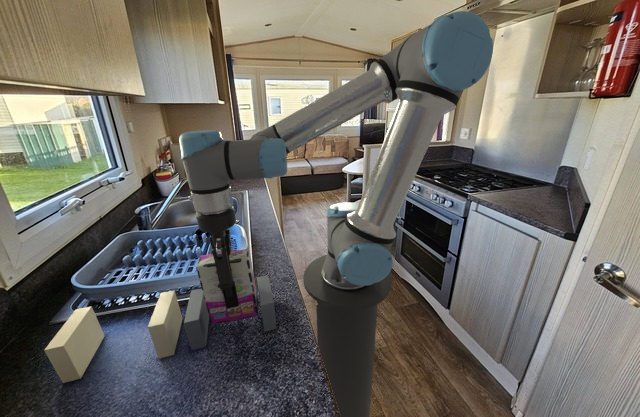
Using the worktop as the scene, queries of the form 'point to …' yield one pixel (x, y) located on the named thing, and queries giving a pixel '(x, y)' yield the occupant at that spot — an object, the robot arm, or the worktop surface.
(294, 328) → the worktop surface
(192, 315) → the grey book
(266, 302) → the grey book
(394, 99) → the robot arm
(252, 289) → the candy bar box
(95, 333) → the cream book
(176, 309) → the cream book
